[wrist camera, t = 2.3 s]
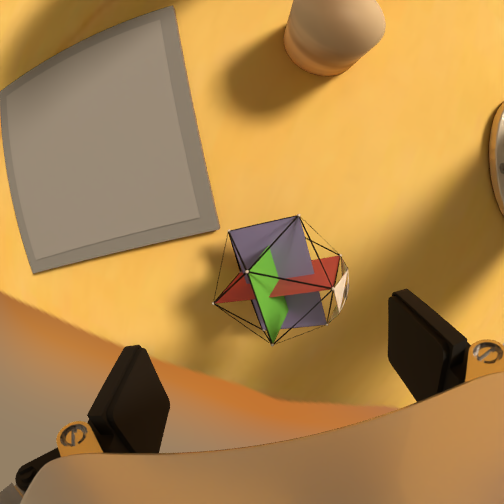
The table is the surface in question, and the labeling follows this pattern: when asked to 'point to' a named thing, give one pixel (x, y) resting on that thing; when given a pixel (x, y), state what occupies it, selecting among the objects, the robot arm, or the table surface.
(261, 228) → the geometric puzzle
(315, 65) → the tan rounded cylinder
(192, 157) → the felt mat
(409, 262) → the table surface
